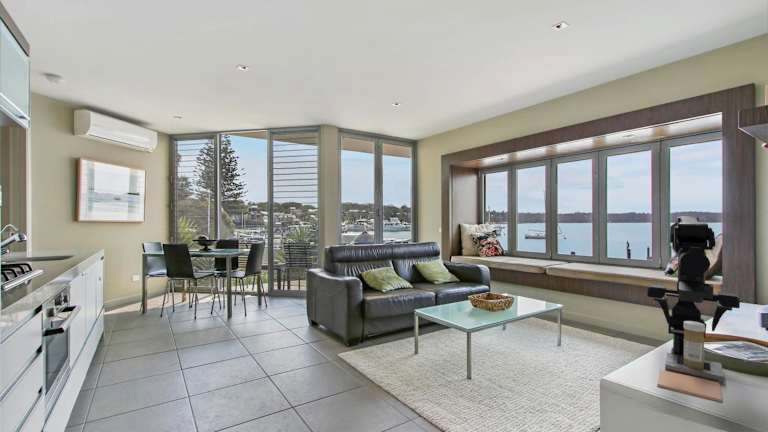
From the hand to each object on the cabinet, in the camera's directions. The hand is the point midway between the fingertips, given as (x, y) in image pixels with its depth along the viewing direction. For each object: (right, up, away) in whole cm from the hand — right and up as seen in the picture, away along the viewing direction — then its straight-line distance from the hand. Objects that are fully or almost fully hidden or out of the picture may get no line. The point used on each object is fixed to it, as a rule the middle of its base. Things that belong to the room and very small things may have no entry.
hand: (690, 327), depth 100 cm
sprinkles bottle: (+4, -13, +3) cm, 14 cm away
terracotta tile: (-5, -13, -6) cm, 15 cm away
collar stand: (+4, -13, +3) cm, 14 cm away
